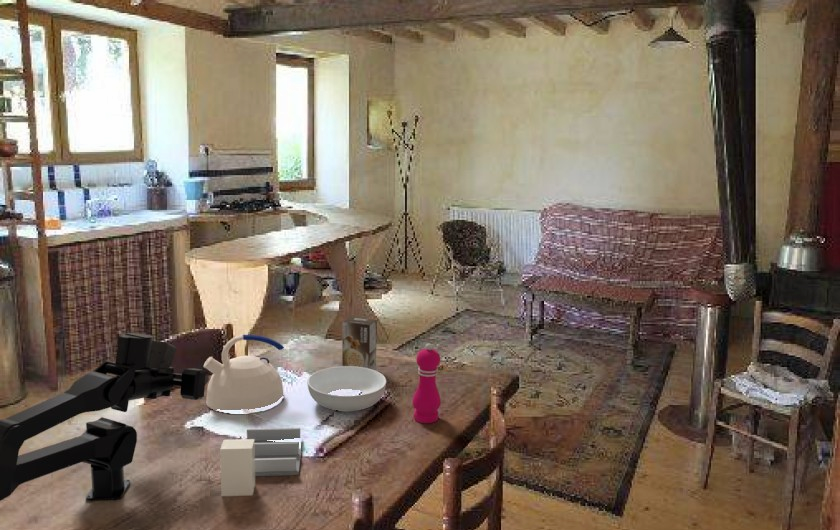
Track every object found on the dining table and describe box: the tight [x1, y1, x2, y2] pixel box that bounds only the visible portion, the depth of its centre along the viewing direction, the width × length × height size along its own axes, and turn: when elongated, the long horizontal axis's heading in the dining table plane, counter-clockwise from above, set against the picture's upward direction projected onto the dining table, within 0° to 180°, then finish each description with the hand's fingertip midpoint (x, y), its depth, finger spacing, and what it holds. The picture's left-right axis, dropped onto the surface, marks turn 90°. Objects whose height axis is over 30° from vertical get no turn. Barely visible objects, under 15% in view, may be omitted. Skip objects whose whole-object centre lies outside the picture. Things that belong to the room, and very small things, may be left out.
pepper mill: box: [412, 342, 442, 424], centre depth 164 cm, size 7×7×20 cm
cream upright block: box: [219, 438, 256, 497], centre depth 129 cm, size 4×6×10 cm, turn 97°
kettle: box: [203, 334, 285, 411], centre depth 172 cm, size 20×21×18 cm
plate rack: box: [246, 427, 302, 477], centre depth 143 cm, size 15×13×4 cm
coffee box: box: [341, 316, 378, 371], centre depth 196 cm, size 9×6×16 cm
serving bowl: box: [306, 365, 387, 412], centre depth 173 cm, size 21×21×7 cm
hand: (191, 376), depth 147 cm, fingers open, 9 cm apart
